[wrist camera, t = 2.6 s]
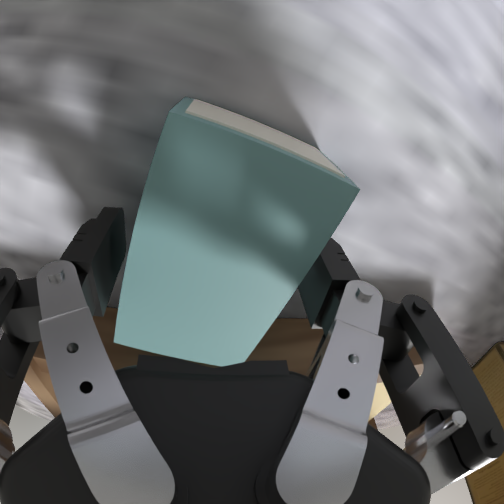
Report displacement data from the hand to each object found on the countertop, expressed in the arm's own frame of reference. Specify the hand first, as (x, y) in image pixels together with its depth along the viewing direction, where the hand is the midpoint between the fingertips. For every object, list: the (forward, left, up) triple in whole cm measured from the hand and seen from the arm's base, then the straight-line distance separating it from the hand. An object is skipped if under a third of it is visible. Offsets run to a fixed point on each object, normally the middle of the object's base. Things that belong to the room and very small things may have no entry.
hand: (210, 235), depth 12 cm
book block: (0, 0, -1) cm, 1 cm away
